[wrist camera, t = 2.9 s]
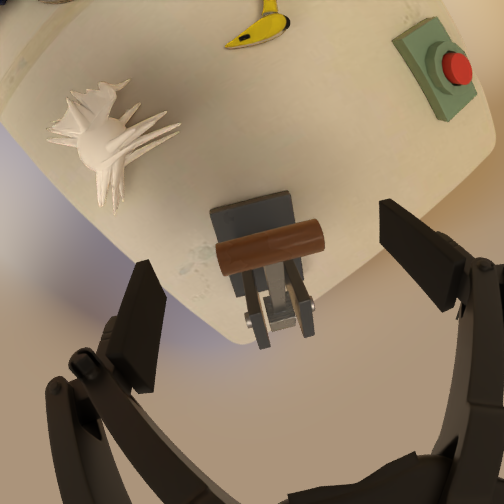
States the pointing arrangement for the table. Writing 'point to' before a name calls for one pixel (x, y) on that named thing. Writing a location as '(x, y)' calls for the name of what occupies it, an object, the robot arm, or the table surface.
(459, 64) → the button
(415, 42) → the button box
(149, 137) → the spiky ball
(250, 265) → the lever
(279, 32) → the twin pod spaceship
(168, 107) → the table surface
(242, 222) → the bracket
